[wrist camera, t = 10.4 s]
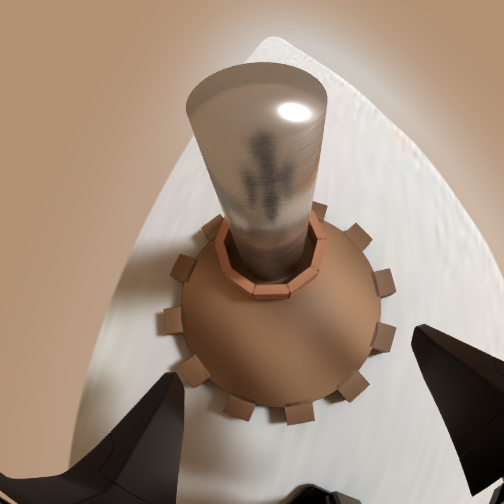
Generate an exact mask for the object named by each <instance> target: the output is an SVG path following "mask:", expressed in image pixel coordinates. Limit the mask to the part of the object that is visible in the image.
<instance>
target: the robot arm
mask: <svg viewBox="0 0 504 504" xmlns="http://www.w3.org/2000/svg"><path fill="white" fill-rule="evenodd" d="M411 346H412V350H413V352H414V355H415V357H416V360H417V362H418V365H419V367H420V370H421V373H422V375H423V378H424V380H425V382H426V384H427V386H428V388H429V390H430V392H431V394H432V396H433V399H434V401H435V403H436V405H437V407H438V409H439V411H440V414H441V416H442V418H443V420H444V423H445V425H446V427H447V429H448V432H449V434H450V437H451V439H452V442H453V444H454V447H455V449H456V452H457V454H458V457H459V460H460V463H461V465H462V468H463V471H464V474H465V477H466V480H467V483H468V486H469V489H470V492H471V495H472V497H473V496H474V495H476V494H478V493H479V492H481V491H482V490H484V489H485V488H487V487H488V486H490V485H491V484H493V483H494V482H496V481H497V480H498V479H500V478H501V477H502V479H503V483H502V484H501V485H500V486H498V487H497V488H496V489H495V490H494V493H493V495H492V498H491V500H490V503H489V504H504V361H502V360H500V359H498V358H496V357H492V356H491V355H489V354H487V353H485V352H483V351H481V350H479V349H477V348H475V347H473V346H470V345H468V344H466V343H464V342H462V341H460V340H458V339H456V338H454V337H452V336H449V335H447V334H445V333H443V332H441V331H439V330H437V329H435V328H433V327H430V326H428V325H426V324H422V325H419V326H416V327H415V329H414V333H413V337H412V341H411ZM184 395H185V391H184V386H183V384H182V382H181V380H180V378H179V376H178V375H177V373H176V372H166V373H164V374H163V375H162V376H161V378H160V379H159V380H158V381H157V382H156V383H155V384H154V385H153V386H152V387H151V389H150V390H149V391H148V392H147V393H146V394H145V395H144V396H143V397H142V398H141V399H140V401H139V402H138V403H137V404H136V405H135V406H134V407H133V408H132V409H131V410H130V411H129V412H128V414H127V415H126V416H125V417H124V418H123V419H122V420H121V421H120V422H119V423H118V424H117V425H116V426H115V428H114V429H113V430H112V431H111V433H109V434H108V435H107V436H106V437H105V438H104V439H103V440H102V441H101V442H100V443H99V444H98V445H97V446H96V447H95V448H94V449H93V450H92V451H91V452H89V453H88V454H87V455H86V456H85V457H84V458H82V459H81V460H80V461H79V462H78V463H76V464H75V465H74V466H73V467H72V468H70V469H69V470H68V471H66V472H64V473H62V474H60V475H56V476H50V477H40V478H29V479H28V478H27V479H12V478H8V477H6V476H5V475H3V474H2V473H0V491H2V492H3V493H4V494H6V495H7V496H8V497H9V498H11V499H12V500H14V501H15V502H17V503H18V504H176V494H177V483H178V473H179V464H180V455H181V447H182V439H183V431H184ZM309 489H313V491H310V492H309V491H307V490H309ZM0 504H11V503H9V502H8V501H6V500H5V499H3V498H2V497H0ZM287 504H361V502H360V501H359V500H357V499H354V498H352V497H349V496H347V495H344V494H342V493H339V492H337V491H335V492H329V491H327V490H325V489H323V488H321V487H318V486H316V485H314V484H309V485H306V486H305V487H304V488H303V489H302V490H301V491H300V492H299V493H298V494H296V495H295V496H294V497H293V498H292V499H291V500H290V501H289V502H288V503H287Z"/></svg>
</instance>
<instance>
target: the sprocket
mask: <svg viewBox="0 0 504 504" xmlns="http://www.w3.org/2000/svg"><path fill="white" fill-rule="evenodd" d="M326 210H327V205H324V204H320V203H317V202H314V201H313V202H312V208H311V213H310V219H309V224H308V229H307V235H306V240H305V245H304V250H303V255H302V259H301V262H300V264H299V266H298V267H297V269H296V270H295V271H294V272H293V273H292V274H291V275H289V276H287V277H286V278H283V279H280V280H275V281H268V280H263V279H259V278H257V277H255V276H254V275H252V274H251V273H250V272H249V271H248V270H247V269H246V268H245V266H244V264H243V262H242V259H241V257H240V254H239V252H238V249H237V246H236V244H235V241H234V239H233V236H232V233H231V231H230V228H229V225H228V223H227V220H226V218H225V217H224V218H223V217H222V216H221V215H220V214H219V215H218V216H216V217H215V218H214V219H212V220H211V221H210V222H208V223H207V224H206V225H204V226H203V227H202V230H203V232H204V233H205V235H206V236H207V237H208V239H209V240H210V242H209V243H208V244H207V245H206V246H205V247H204V248H203V249H202V251H201V252H200V253H199V255H198V256H197V258H196V259H193V258H190V257H188V256H185V255H182V254H180V255H179V257H178V259H177V261H176V263H175V265H174V267H173V269H172V272H171V274H170V276H172V277H173V278H174V279H175V280H178V281H180V282H182V283H185V284H184V288H183V292H182V299H181V307H174V308H166V309H164V323H165V333H166V334H170V335H177V334H184V337H185V340H186V343H187V346H188V348H189V350H190V352H191V354H192V357H191V358H190V359H188V360H187V361H186V362H184V363H183V364H181V365H180V366H179V367H178V368H179V370H180V371H181V373H182V374H183V375H184V377H185V378H186V380H187V381H188V382H189V384H190V385H191V386H192V388H195V387H198V386H200V385H201V384H203V383H204V382H205V381H207V380H208V379H210V380H211V381H213V382H214V383H215V384H216V385H217V386H218V387H220V388H221V389H223V390H224V391H226V392H227V393H229V394H230V396H229V399H228V401H227V403H226V406H225V408H224V410H223V412H225V413H227V414H230V415H232V416H235V417H237V418H240V419H242V420H245V421H249V419H250V417H251V415H252V413H253V411H254V408H255V406H256V405H261V406H267V407H285V413H286V419H287V426H288V425H294V424H300V423H305V422H310V421H315V418H314V411H313V405H312V402H314V401H316V400H319V399H321V398H323V397H326V396H327V395H329V394H331V393H333V392H334V391H336V390H337V391H338V392H339V393H340V394H341V395H342V396H343V398H344V399H345V400H346V401H348V402H349V403H350V402H351V401H353V400H354V399H355V398H356V397H357V396H358V395H359V394H360V393H361V392H362V391H364V390H365V389H366V388H367V387H368V386H369V385H370V384H369V383H368V382H367V380H366V379H365V378H364V377H363V376H362V375H361V374H360V373H359V371H358V370H359V369H360V368H361V366H362V365H363V363H364V362H365V361H366V359H367V357H368V355H369V354H370V352H371V350H376V351H379V352H383V353H386V352H390V349H391V345H392V342H393V338H394V335H395V331H396V327H394V326H390V325H387V324H384V323H381V322H380V316H381V300H380V298H383V297H387V296H391V295H392V294H394V293H395V292H396V289H395V285H394V281H393V278H392V274H391V271H390V268H389V269H385V270H380V271H376V272H374V271H373V269H372V267H371V265H370V263H369V261H368V259H367V258H366V256H365V255H364V253H363V252H362V251H363V250H364V249H365V248H366V247H367V246H368V245H369V244H370V242H371V241H372V238H371V237H370V236H369V235H368V234H367V233H366V232H365V231H364V230H363V229H362V228H361V227H360V226H359V225H358V224H357V223H355V224H354V225H353V226H352V227H351V228H349V229H348V230H347V231H346V232H345V233H344V232H342V231H341V230H339V229H338V228H336V227H335V226H333V225H331V224H330V223H328V222H326V221H324V217H325V213H326Z"/></svg>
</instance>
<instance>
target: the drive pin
mask: <svg viewBox="0 0 504 504" xmlns="http://www.w3.org/2000/svg"><path fill="white" fill-rule="evenodd" d="M326 108H327V94H326V90H325V88H324V87H323V85H322V84H321V83H320V82H319V81H318V80H317V79H316V78H315V77H314V76H312V75H311V74H309V73H307V72H306V71H304V70H301V69H299V68H296V67H293V66H289V65H285V64H280V63H271V62H256V63H246V64H241V65H236V66H232V67H229V68H226V69H223V70H221V71H218V72H216V73H214V74H212V75H211V76H209V77H207V78H206V79H204V80H203V81H202V82H201V83H199V84H198V85H197V86H196V87H195V88H194V90H193V91H192V92H191V94H190V95H189V97H188V100H187V103H186V112H187V115H188V118H189V121H190V124H191V126H192V129H193V132H194V135H195V137H196V140H197V143H198V146H199V148H200V151H201V154H202V156H203V159H204V162H205V164H206V167H207V170H208V172H209V175H210V178H211V180H212V183H213V186H214V188H215V191H216V194H217V196H218V199H219V202H220V204H221V207H222V210H223V212H224V215H225V218H226V220H227V223H228V225H229V228H230V231H231V233H232V236H233V239H234V241H235V244H236V246H237V249H238V252H239V254H240V257H241V259H242V262H243V264H244V266H245V268H246V269H247V270H248V271H249V272H250V273H251V274H252V275H254V276H255V277H257V278H259V279H263V280H268V281H275V280H280V279H283V278H286V277H287V276H289V275H291V274H292V273H293V272H294V271H295V270H296V269H297V267H298V266H299V264H300V262H301V259H302V255H303V250H304V245H305V240H306V235H307V229H308V224H309V219H310V213H311V208H312V202H313V196H314V190H315V184H316V178H317V172H318V165H319V159H320V152H321V145H322V138H323V131H324V124H325V116H326Z"/></svg>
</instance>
